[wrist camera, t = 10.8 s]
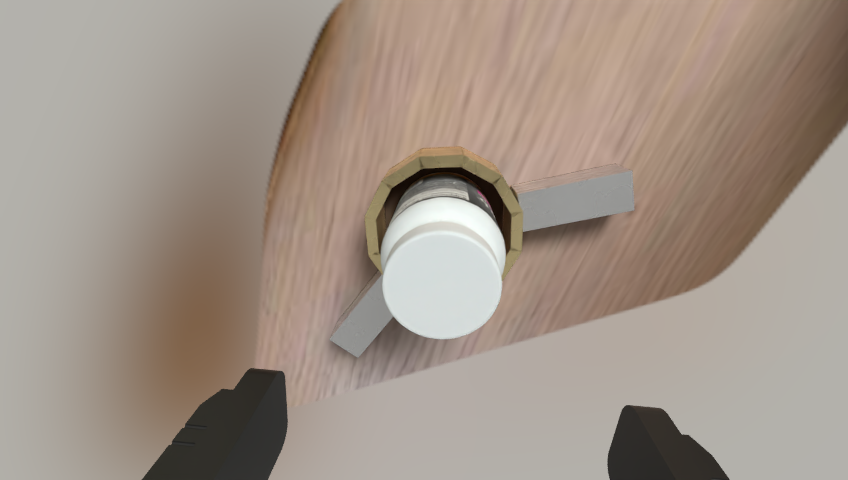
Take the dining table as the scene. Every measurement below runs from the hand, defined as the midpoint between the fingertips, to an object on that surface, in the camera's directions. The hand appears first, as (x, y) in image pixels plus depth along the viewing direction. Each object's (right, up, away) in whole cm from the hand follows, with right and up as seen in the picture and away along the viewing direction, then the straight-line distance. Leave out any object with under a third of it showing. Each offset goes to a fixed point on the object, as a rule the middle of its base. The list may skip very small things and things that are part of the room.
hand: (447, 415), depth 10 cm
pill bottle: (+1, +6, +15) cm, 16 cm away
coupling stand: (+1, +6, +15) cm, 16 cm away
